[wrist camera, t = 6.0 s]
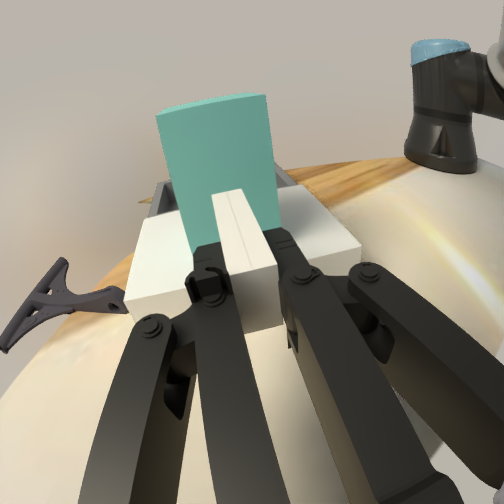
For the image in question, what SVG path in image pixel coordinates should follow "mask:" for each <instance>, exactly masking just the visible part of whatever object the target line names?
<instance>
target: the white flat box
mask: <svg viewBox="0 0 504 504" xmlns="http://www.w3.org/2000/svg"><path fill="white" fill-rule="evenodd" d="M277 192H278V201H279V211H280V221H281V227H282V228H283V229H285V230H287V231H289V232H290V234H291V235H292V237H293V238H294V240H295V242H296V243H297V246H299V248H300V249H301V251H302V253H303V254H304V256H305V257H306V259H307V261H308V262H309V264H310V265H312V266H315V267H317V268H319V269H320V270H321V271H322V272H323V274H324V275H328V276H348V273H349V271H350V268H351V267H353V266H354V265H355V264H358V263H361V253H362V245H361V244H360V243H359V242H358V241H357V240H356V239H355V238H354V237H353V236H352V234H351V233H350V232H349V231H348V230H347V229H346V228H345V227H344V226H343V225H342V224H341V223H340V222H339V221H338V220H337V219H336V218H335V217H334V216H333V215H332V214H331V213H330V212H329V211H328V210H327V209H326V208H325V207H324V206H323V205H322V204H321V203H320V202H319V201H318V200H317V199H316V198H315V197H314V196H313V195H312V194H311V193H310V192H309V191H308V190H307V189H306V188H305V187H304V186H303V185H296V186H290V187H285V188H280V189H277ZM193 270H194V269H193V256H192V253H191V249H190V246H189V243H188V239H187V236H186V233H185V229H184V226H183V222H182V219H181V215H180V212H179V210H178V211H174V212H170V213H166V214H162V215H158V216H154V217H150V218H146V219H144V222H143V225H142V229H141V232H140V236H139V239H138V243H137V247H136V250H135V254H134V258H133V262H132V266H131V270H130V274H129V278H128V282H127V287H126V291H125V296H124V300H123V302H124V304H125V305H126V307H127V309H128V311H129V313H130V314H131V316H132V318H133V320H134V321H135V323H137V322H138V321H139V320H140V319H141V318H143V317H145V316H147V315H149V314H155V313H159V314H164V315H166V316H167V317H169V319H171V318H173V317H175V316H177V315H179V314H181V313H183V312H184V311H186V310H187V309H188V308H189V307H190V306H191V305H192V303H191V300H190V297H189V295H188V292H187V289H186V287H185V284H184V283H185V279H186V277H187V276H188V275H189V273H190V272H192V271H193Z"/></svg>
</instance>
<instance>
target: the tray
mask: <svg viewBox="0 0 504 504" xmlns="http://www.w3.org/2000/svg"><path fill="white" fill-rule="evenodd" d="M274 166H275V174H276V183H277V189H280V188H285V187H290V186H296V185H298V184H297V183H296V182H295V181H294V180H293V179H292V178H291V177H290V176H289V175H288V174H287V173H286V172H285V171H284V170H283V169H282V168H281V167H279V166H278V165H277V164H276V163H275V162H274ZM178 210H179V208H178V204H177V201H176V197H175V193H174V189H173V186H172V182H171V180H168V181H164V182H160V183H158V184H157V188H156V191H155V194H154V197H153V200H152V204H151V207H150V211H149V214H148V218H150V217H154V216H158V215H162V214H166V213H170V212H174V211H178Z"/></svg>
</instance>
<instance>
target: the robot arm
mask: <svg viewBox="0 0 504 504" xmlns="http://www.w3.org/2000/svg"><path fill="white" fill-rule="evenodd" d="M411 67H412V73H413V101H414V116H413V120H412V124H411V127H410V130H409V134H408V138H407V139H406V141H405V144H404V155H405V156H406V157H407V158H408V159H410V160H411V161H413V162H415V163H418V164H420V165H423V166H426V167H429V168H433V169H436V170H441V171H445V172H451V173H462V174H466V173H473V172H475V171H476V168H477V155H476V148H475V142H474V137H473V132H472V113H473V112H474V113H478V114H483V115H486V116H490V117H493V118H497V119H500V120H504V7H503V17H502V24H501V31H500V37H499V43H495V44H493V45H492V46H491V47H490V48H489V50H488V53H487V55H484V54H480V53H475V52H471V48H470V46H469V44H467V43H466V42H463V41H457V40H450V39H428V40H421V41H418V42H415V43H414V44H413V45H412V47H411ZM211 196H212V201H213V206H214V211H215V216H216V221H217V226H218V231H219V235H220V240H221V241H220V242H216V243H211V244H207V245H203V246H198V247H197V248H196V250H195V252H194V253H193V269H194V270H193V271H192V272H190V273H189V275H188V276H187V277H186V279H185V283H184V284H185V287H186V289H187V292H188V295H189V297H190V300H191V303H192V305H191V306H190V307H189V308H188V309H187V310H186V311H184V312H183V313H181V314H179V315H177V316H175V317H173V318H171V319H169V317H167V316H166V315H164V314H159V313H155V314H149V315H147V316H145V317H143V318H141V319H140V320H139V321H138V322H137V323H136V324H135V326H134V327H133V329H132V331H131V334H130V336H129V339H128V341H127V344H126V346H125V349H124V352H123V354H122V357H121V359H120V362H119V365H118V368H117V370H116V373H115V376H114V379H113V381H112V384H111V387H110V390H109V393H108V396H107V399H106V402H105V405H104V408H103V411H102V414H101V417H100V420H99V424H98V427H97V430H96V434H95V437H94V440H93V444H92V447H91V451H90V455H89V458H88V462H87V466H86V470H85V474H84V478H83V482H82V486H81V491H80V495H79V500H78V504H176V503H177V495H178V488H179V481H180V474H181V467H182V460H183V454H184V447H185V441H186V435H187V429H188V423H189V417H190V411H191V405H192V399H193V393H194V388H195V382H196V374H197V373H198V382H199V391H200V399H201V408H202V415H203V423H204V430H205V437H206V444H207V450H208V457H209V463H210V469H211V475H212V480H213V486H214V491H215V497H216V502H217V504H290V501H289V498H288V494H287V491H286V488H285V484H284V481H283V478H282V474H281V471H280V467H279V464H278V460H277V457H276V453H275V450H274V446H273V443H272V439H271V436H270V432H269V428H268V425H267V421H266V417H265V414H264V410H263V406H262V403H261V399H260V395H259V391H258V387H257V384H256V380H255V376H254V372H253V368H252V364H251V360H250V356H249V352H248V349H247V345H246V341H245V337H244V334H247V333H251V332H256V331H260V330H264V329H268V328H272V327H276V326H279V325H283V318H284V321H285V323H286V327H287V339H288V349H289V348H291V347H292V349H293V352H294V355H295V357H296V360H297V362H298V365H299V368H300V370H301V373H302V376H303V378H304V381H305V384H306V386H307V389H308V392H309V394H310V397H311V399H312V402H313V405H314V407H315V410H316V413H317V415H318V418H319V421H320V423H321V426H322V429H323V431H324V434H325V437H326V439H327V442H328V445H329V447H330V450H331V453H332V455H333V458H334V461H335V463H336V466H337V469H338V471H339V474H340V477H341V479H342V482H343V485H344V487H345V490H346V493H347V496H348V498H349V501H350V504H464V502H463V500H462V498H461V495H460V493H459V491H458V489H457V487H456V486H455V484H454V482H453V481H452V480H451V479H450V478H449V477H448V476H447V475H445V474H443V473H440V472H438V471H436V470H435V469H434V467H433V466H432V464H431V462H430V460H429V458H428V456H427V454H426V452H425V450H424V448H423V446H422V444H421V442H420V440H419V438H418V436H417V434H416V432H415V430H414V429H413V427H412V425H411V423H410V421H409V419H408V417H407V415H406V413H405V411H404V410H403V408H402V406H401V404H400V402H399V400H398V398H397V397H396V395H395V393H394V391H393V389H392V387H393V388H394V389H395V390H396V391H397V392H398V393H399V394H400V395H401V396H402V397H403V398H404V399H405V400H406V401H407V403H408V404H409V405H410V406H411V407H412V408H413V409H414V410H415V411H416V412H417V413H418V414H419V415H420V416H421V418H422V419H423V420H424V421H425V422H426V423H427V424H428V425H429V426H430V427H431V428H432V429H433V430H434V431H435V433H436V434H437V435H438V436H439V437H440V438H441V439H442V440H443V441H444V442H445V443H446V444H447V445H448V447H449V448H450V449H451V450H452V451H453V452H454V453H455V454H456V455H457V456H458V457H459V459H461V460H462V462H463V463H464V464H465V465H466V466H467V467H468V468H469V469H470V471H471V472H472V473H474V474H475V475H476V476H477V477H478V478H479V479H480V480H481V481H483V482H484V483H486V484H488V485H489V486H491V487H493V488H495V489H497V490H498V491H497V492H496V493H495V495H494V498H493V503H494V504H504V365H503V364H502V363H500V362H499V361H498V360H497V359H496V358H495V357H494V356H493V355H492V354H490V353H489V352H488V351H487V350H486V349H485V348H484V347H483V346H481V345H480V344H479V343H478V342H477V341H476V340H475V339H473V338H472V337H471V336H470V335H469V334H468V333H466V332H465V331H464V330H463V329H462V328H460V327H459V326H458V325H457V324H456V323H454V322H453V321H452V320H451V319H450V318H448V317H447V316H446V315H445V314H443V313H442V312H441V311H440V310H438V309H437V308H436V307H435V306H433V305H432V304H431V303H430V302H428V301H427V300H426V299H425V298H423V297H422V296H421V295H419V294H418V293H417V292H415V291H414V290H413V289H412V288H410V287H409V286H408V285H406V284H405V283H404V282H402V281H401V280H400V279H398V278H397V277H396V276H394V275H393V274H392V273H390V272H389V271H388V270H386V269H385V268H384V267H382V266H380V265H378V264H375V263H371V262H362V263H358V264H355V265H354V266H353V267H351V268H350V271H349V273H348V276H328V275H324V274H323V272H322V271H321V270H320V269H319V268H317V267H315V266H312V265H310V264H309V262H308V261H307V259H306V257H305V256H304V254H303V253H302V251H301V249H300V248H299V246H297V243H296V242H295V240H294V238H293V237H292V235H291V234H290V232H289V231H287V230H285V229H283V228H282V227H279V228H274V229H269V230H265V231H261V229H260V226H259V224H258V222H257V220H256V218H255V216H254V214H253V212H252V210H251V208H250V206H249V204H248V202H247V199H246V197H245V195H244V193H243V191H242V189H236V190H231V191H227V192H222V193H218V194H213V195H211ZM389 383H390V384H391V385H392V387H391V386H390V384H389Z"/></svg>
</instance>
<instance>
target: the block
mask: <svg viewBox="0 0 504 504" xmlns="http://www.w3.org/2000/svg"><path fill="white" fill-rule="evenodd" d="M156 120H157V124H158V129H159V133H160V138H161V142H162V145H163V150H164V154H165V158H166V162H167V166H168V170H169V174H170V178H171V182H172V186H173V189H174V193H175V197H176V201H177V204H178V208H179V212H180V215H181V219H182V222H183V226H184V229H185V233H186V236H187V239H188V243H189V246H190V249H191V253H192V256H193V253H194V252H195V250H196V248H197V247H198V246H203V245H207V244H211V243H216V242H220V241H221V240H220V235H219V231H218V226H217V221H216V216H215V211H214V206H213V201H212V196H211V195H213V194H218V193H222V192H227V191H231V190H236V189H242V191H243V193H244V195H245V197H246V199H247V202H248V204H249V206H250V208H251V210H252V212H253V214H254V216H255V218H256V220H257V222H258V224H259V226H260V229H261V231H265V230H269V229H274V228H279V227H281V221H280V211H279V201H278V192H277V183H276V174H275V166H274V157H273V149H272V141H271V133H270V125H269V118H268V110H267V103H266V96H265V94H256V93H241V94H234V95H228V96H222V97H217V98H211V99H206V100H201V101H196V102H192V103H187V104H183V105H179V106H174V107H170V108H167V109H164V110H163V111H162V112H160V113H159V114H158V115H156Z"/></svg>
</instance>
